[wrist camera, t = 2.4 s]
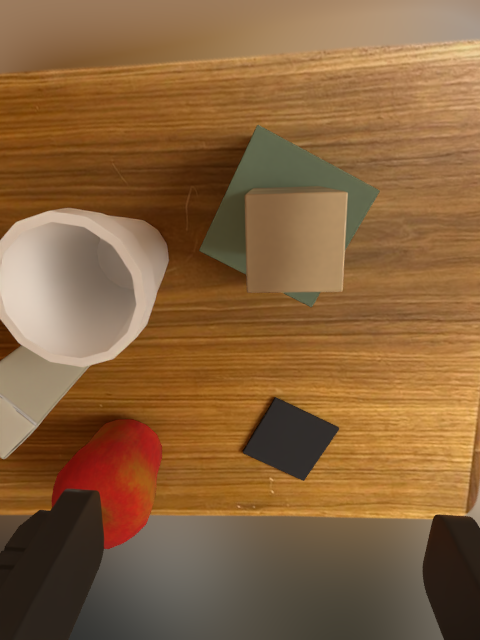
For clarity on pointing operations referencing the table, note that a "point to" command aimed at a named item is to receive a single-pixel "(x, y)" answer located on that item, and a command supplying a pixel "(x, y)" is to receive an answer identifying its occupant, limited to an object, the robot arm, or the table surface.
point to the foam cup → (79, 283)
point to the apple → (117, 476)
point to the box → (29, 394)
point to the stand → (278, 171)
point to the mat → (290, 439)
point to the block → (295, 239)
